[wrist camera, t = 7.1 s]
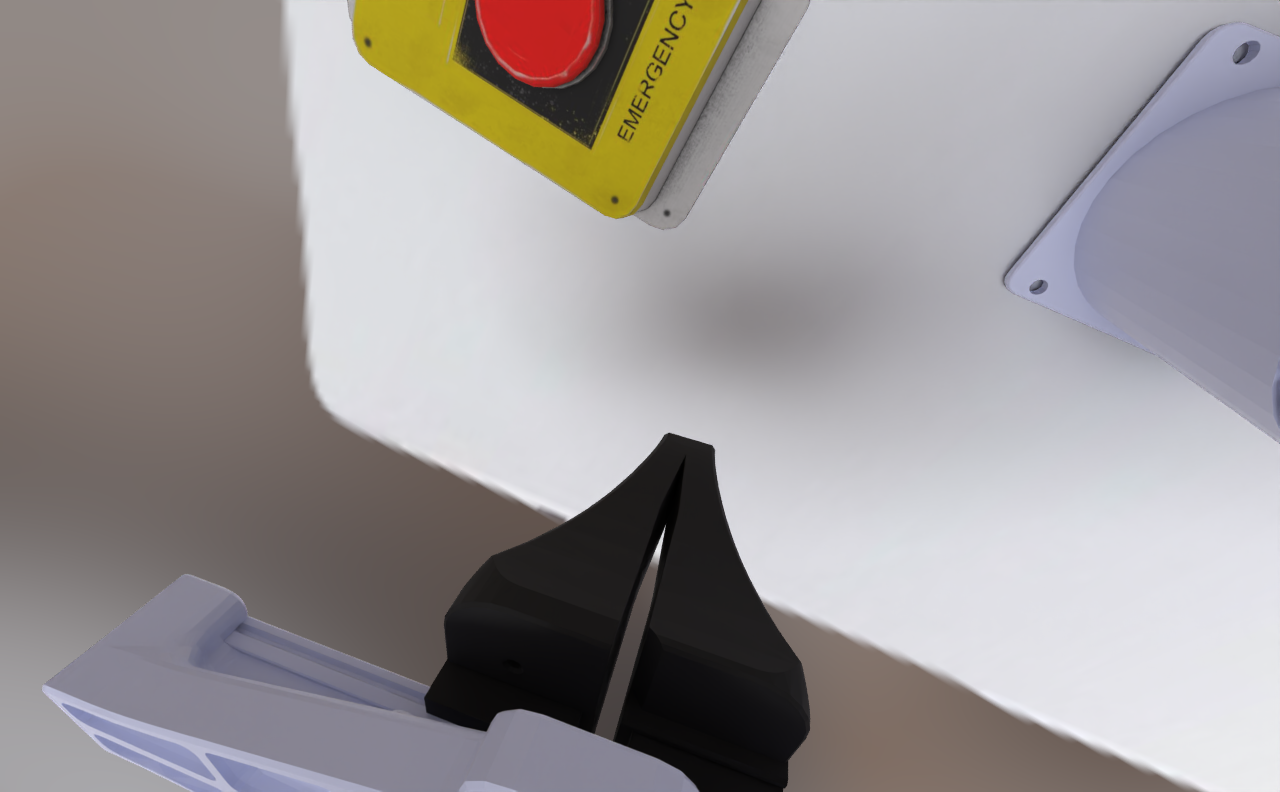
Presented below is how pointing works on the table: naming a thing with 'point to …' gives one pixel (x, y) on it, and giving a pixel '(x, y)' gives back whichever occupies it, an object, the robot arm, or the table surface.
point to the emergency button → (589, 84)
